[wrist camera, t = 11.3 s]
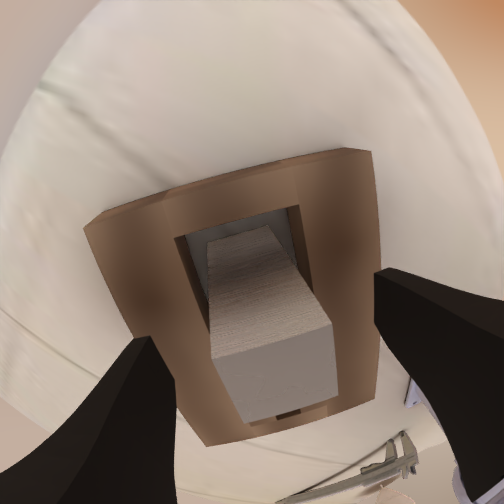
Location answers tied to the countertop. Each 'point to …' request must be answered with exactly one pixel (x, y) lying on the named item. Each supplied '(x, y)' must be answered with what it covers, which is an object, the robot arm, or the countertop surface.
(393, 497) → the spinning top
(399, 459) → the caliper
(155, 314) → the socket block
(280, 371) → the peg
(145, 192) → the countertop surface
